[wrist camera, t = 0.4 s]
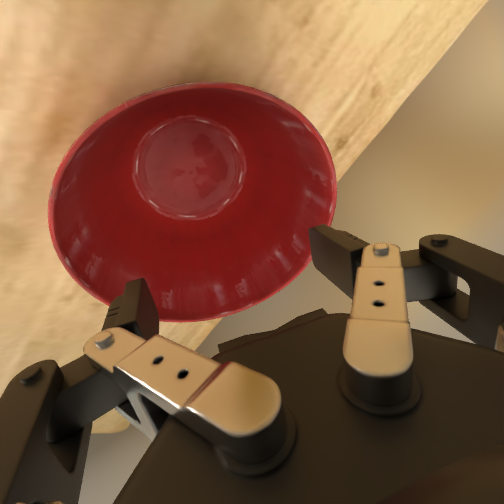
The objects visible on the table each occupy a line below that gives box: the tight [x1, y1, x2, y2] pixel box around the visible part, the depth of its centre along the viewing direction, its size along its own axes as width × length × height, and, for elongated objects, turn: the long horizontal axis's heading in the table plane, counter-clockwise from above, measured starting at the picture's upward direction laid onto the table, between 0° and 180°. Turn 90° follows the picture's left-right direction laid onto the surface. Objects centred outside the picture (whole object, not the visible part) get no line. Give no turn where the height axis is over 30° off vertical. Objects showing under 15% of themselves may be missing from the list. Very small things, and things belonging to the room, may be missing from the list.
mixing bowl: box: [48, 82, 337, 322], centre depth 37 cm, size 28×28×15 cm
